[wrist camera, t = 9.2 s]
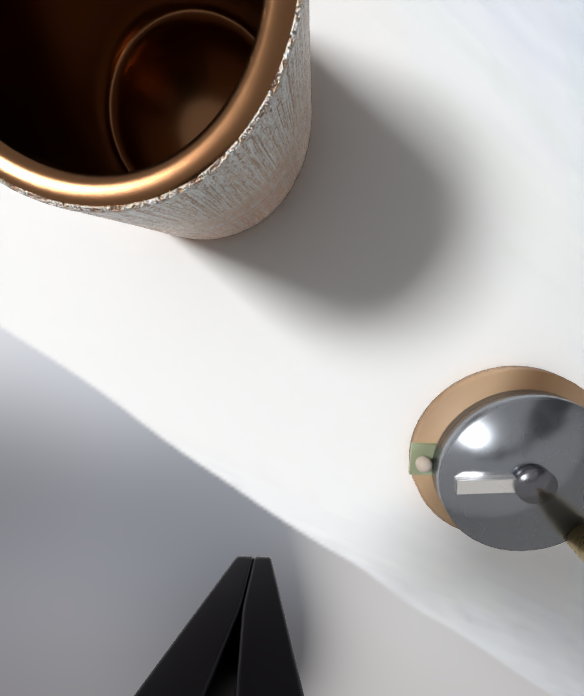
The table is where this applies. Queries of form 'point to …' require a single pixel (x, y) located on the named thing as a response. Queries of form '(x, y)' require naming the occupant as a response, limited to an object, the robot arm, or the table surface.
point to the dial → (515, 471)
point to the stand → (462, 398)
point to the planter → (156, 108)
